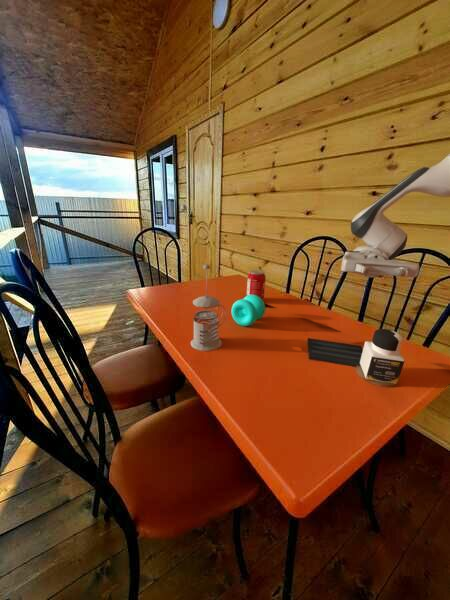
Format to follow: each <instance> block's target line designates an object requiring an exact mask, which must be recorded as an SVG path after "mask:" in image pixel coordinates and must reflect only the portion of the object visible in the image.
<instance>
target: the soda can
mask: <svg viewBox="0 0 450 600" xmlns="http://www.w3.org/2000/svg"><path fill="white" fill-rule="evenodd" d="M266 278H267V275H266V272H265V271H263V270H259V269H253V270H250V271H249V273H248V274H247V279H246V294H245V297H246V296H248V295H256V296H258V297H260V298H261V299H262V300H263V302H264V301H265V291H266ZM264 303H265V302H264Z"/></svg>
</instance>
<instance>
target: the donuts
mask: <svg viewBox="0 0 450 600" xmlns="http://www.w3.org/2000/svg"><path fill="white" fill-rule="evenodd" d="M230 311H231V312H230V313H231V316H232V319H233V320H234V322H235V323H236V324H238V325H239V326H242V327H250V326H252V325H253V324H254V323H255V322H256V321H257V320H261V319H262V318H263V316H264V315H265V313H266V305H265V302H263V300H262V299H261V298H260V297H258V296H256V295H248V296H246V295H245V297H243V298H241V299H237V300H236V301H234V303H233V304H232V305H231V310H230Z"/></svg>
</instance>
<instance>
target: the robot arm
mask: <svg viewBox="0 0 450 600" xmlns="http://www.w3.org/2000/svg"><path fill="white" fill-rule="evenodd" d="M410 193H422V194H427V195H430V196H434V197H440V198H441V197H442V198H450V153H448V155H446V157H445V158H443V160H441V161H440V162H438V163H436V164H434V165H433V166H430V167H427V166H423V167H421V168H419V169H416V170H415V171H413V172H412V173H411V174H409V175H408V176H406V177H405V178H404V179H402V180H401V181H400V182H399V183H397V184H396V185H395V186H393V187H392V188H390V189H389V190H388V191H387V192H386V193H384V194H383V195H381V196H380V197H379V198H378V199H376V201H374V202H372V203H371V204H370V205H369V206H367V207H366V208H364V209H363V210H361V211H359V212H358V213H357V214H356V215H355V216H354V217H353V219H352V220H351V222H350V232H351V234H352V235H354V236H355V237H357V238H359V240H361V241H363V242H364V243H365V245H359V246H357V247H355V248H354V249H353V250H352V251H351V250H350V251H345V252H344V255H343V256H342V260H341V265H340V271H341V272H345V273H353V274H357V275H361V276H363V277H367V278H377V277H380V276H391V277H402V278H417V276H418V275H419V271H420V265H419V264H418V263H414V262H412V261H406V260H398V259H397V260H396V259H394V258H396V257H397V256H399V255H400V254H401V253H402V251H403V250H404V249H406V245H407V242H408V233H407V232H406V231H404V229H403V228H401V227H400V226H398V225H397V224H395V223H394V222H393V221H391V219H389V218H388V217H387V216H386V215H385V214H384V212H385V211H386V210H388V209H389V208H390V207H392V206H394V204H396V203H397V202H398V201H399V200H401V199H402V198H404V197H405V196H406V195H408V194H410Z"/></svg>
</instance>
